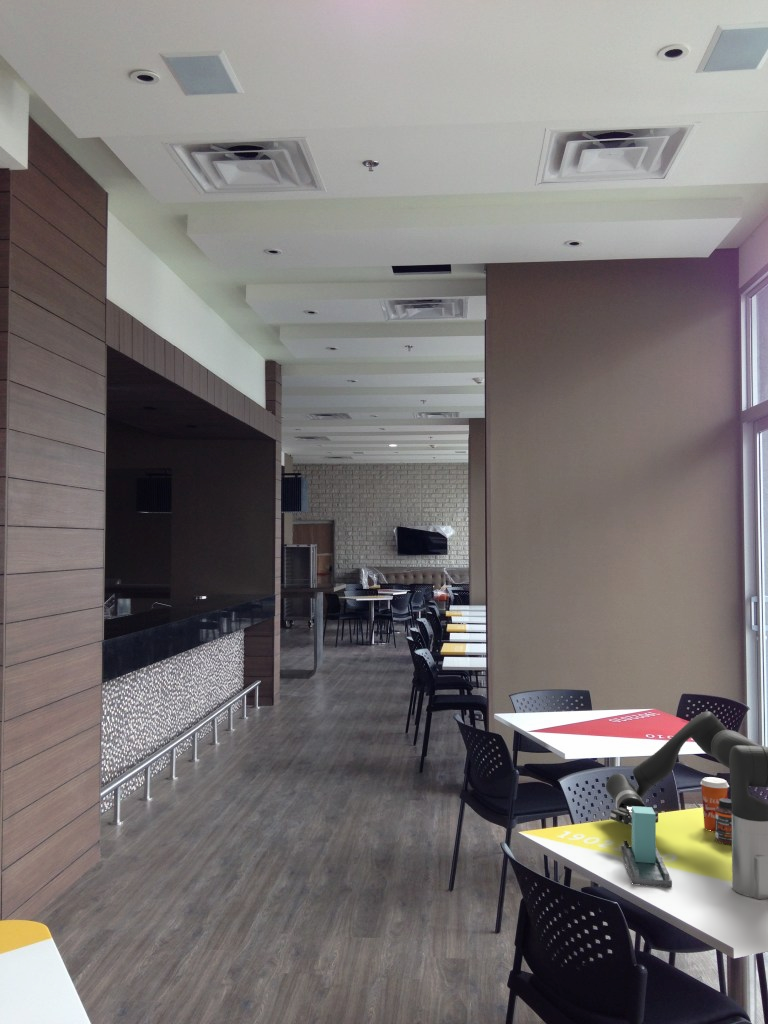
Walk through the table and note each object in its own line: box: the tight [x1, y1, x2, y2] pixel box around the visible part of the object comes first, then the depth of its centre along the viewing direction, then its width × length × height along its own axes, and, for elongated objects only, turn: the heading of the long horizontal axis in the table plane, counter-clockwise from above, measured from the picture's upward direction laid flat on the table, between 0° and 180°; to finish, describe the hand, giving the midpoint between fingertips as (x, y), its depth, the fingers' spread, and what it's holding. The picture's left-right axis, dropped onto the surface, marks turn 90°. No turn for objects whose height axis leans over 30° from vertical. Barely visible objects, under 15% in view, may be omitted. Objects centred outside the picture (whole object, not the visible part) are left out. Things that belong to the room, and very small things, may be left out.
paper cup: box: [700, 776, 730, 832], centre depth 238 cm, size 8×8×14 cm
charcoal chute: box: [620, 839, 673, 889], centre depth 205 cm, size 23×9×3 cm, turn 170°
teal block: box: [631, 806, 657, 864], centre depth 208 cm, size 6×5×12 cm
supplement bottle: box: [714, 798, 732, 846], centre depth 227 cm, size 6×6×11 cm
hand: (638, 825), depth 213 cm, fingers closed
